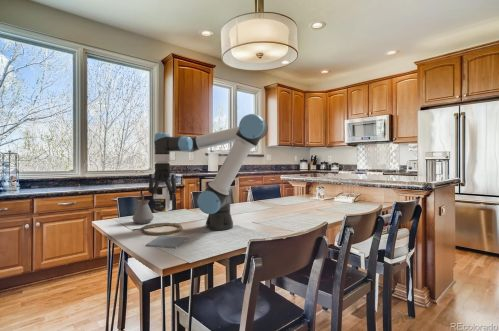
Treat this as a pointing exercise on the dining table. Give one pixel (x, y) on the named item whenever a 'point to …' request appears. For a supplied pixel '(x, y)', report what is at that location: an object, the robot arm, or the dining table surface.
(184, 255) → the dining table surface
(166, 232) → the woven rattan coaster
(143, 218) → the coffee pot
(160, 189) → the medicine bottle
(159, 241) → the slate mat
